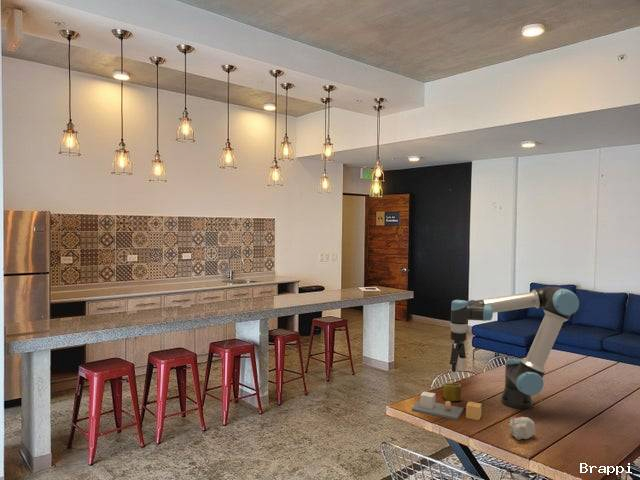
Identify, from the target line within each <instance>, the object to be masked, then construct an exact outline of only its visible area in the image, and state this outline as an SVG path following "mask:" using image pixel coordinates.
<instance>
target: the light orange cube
mask: <svg viewBox="0 0 640 480" xmlns="http://www.w3.org/2000/svg"><path fill="white" fill-rule="evenodd" d="M482 408H483V407H482V403H480V402H474V401H468V402H467V404H466V406H465V418H466V419H469V420H470V419H471V420H474V421H475V420H476V421H480V419H481V417H482Z"/></svg>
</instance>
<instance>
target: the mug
mask: <svg viewBox="0 0 640 480" xmlns="http://www.w3.org/2000/svg"><path fill="white" fill-rule="evenodd" d="M442 392H443V397H444V400H445V401H450V402H460V401H462V385H461V384H460V383H458V382H452V381H447V382H444V383H443V384H442Z"/></svg>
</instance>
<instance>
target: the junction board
mask: <svg viewBox="0 0 640 480" xmlns="http://www.w3.org/2000/svg"><path fill="white" fill-rule="evenodd" d="M436 395H437V394H436V393H435V392H429V391H423V392H422V393H421V394H420V396H419V397H420V398H419V400H418V401H417V402H416V403H415V404H414V405H413V406H412V408H411V411H412V412H416V413H421V414H425V415H431V416H436V417H441V418H445V419H450V420H455V421H458V419H459V418H460V416H461V415H462V413H463V412H464V407H462V406H461V407H460V406H455V405H451V404H452V401H447V400H445V403H440V402H436V398H437V397H436Z"/></svg>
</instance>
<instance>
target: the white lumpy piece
mask: <svg viewBox="0 0 640 480" xmlns="http://www.w3.org/2000/svg"><path fill="white" fill-rule="evenodd" d="M509 420H510V421H509V432H510V434H511V436H512V437H515V439H516V440H522V439H523V440H527V439H530V438H531V437H532V436H533V435H534V434H535V433H536V424H535V422H534V421H533V419H531V418H530V417H528V416H520V415H517V416H515V417H511V419H509Z"/></svg>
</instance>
